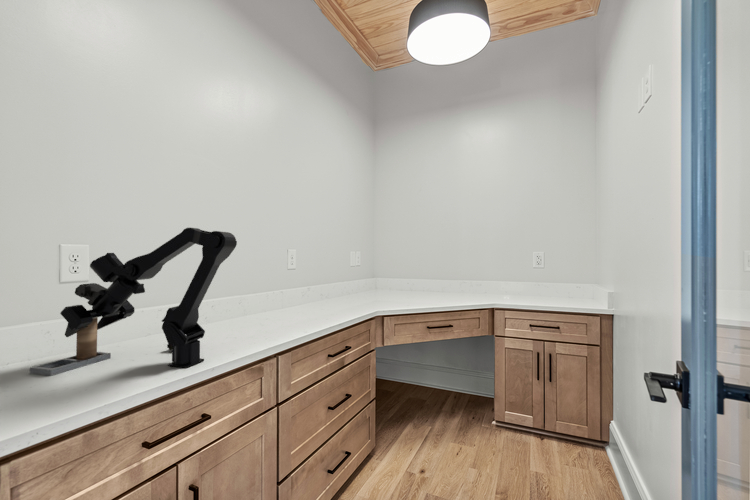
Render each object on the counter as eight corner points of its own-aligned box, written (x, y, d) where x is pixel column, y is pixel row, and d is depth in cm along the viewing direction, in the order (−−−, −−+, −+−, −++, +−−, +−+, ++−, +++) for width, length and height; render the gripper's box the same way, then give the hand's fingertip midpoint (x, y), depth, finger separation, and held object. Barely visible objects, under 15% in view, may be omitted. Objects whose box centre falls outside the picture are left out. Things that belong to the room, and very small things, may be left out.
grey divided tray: (110, 358, 100) (110, 353, 100) (50, 375, 86) (50, 370, 86) (91, 356, 102) (91, 351, 102) (29, 373, 88) (29, 367, 88)
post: (99, 359, 98) (100, 318, 98) (80, 364, 94) (81, 320, 94) (91, 357, 100) (92, 316, 101) (72, 361, 96) (73, 319, 97)
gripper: (125, 272, 107) (93, 306, 107) (67, 276, 88) (28, 318, 89) (149, 297, 106) (116, 332, 107) (95, 306, 87) (55, 348, 88)
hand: (82, 332), depth 98 cm, fingers open, 9 cm apart
